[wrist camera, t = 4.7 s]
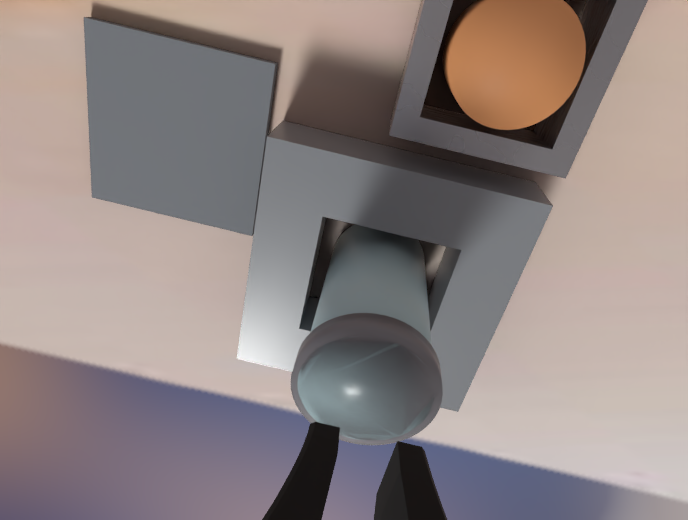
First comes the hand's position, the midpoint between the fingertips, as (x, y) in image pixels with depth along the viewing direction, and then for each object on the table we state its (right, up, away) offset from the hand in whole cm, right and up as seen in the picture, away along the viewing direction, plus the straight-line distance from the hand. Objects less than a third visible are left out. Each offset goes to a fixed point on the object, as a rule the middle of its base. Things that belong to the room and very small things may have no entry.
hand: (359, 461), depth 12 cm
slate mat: (-7, +10, +7) cm, 14 cm away
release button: (+5, +12, +4) cm, 13 cm away
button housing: (+5, +12, +5) cm, 14 cm away
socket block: (+1, +5, +9) cm, 10 cm away
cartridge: (+1, +5, +9) cm, 10 cm away
